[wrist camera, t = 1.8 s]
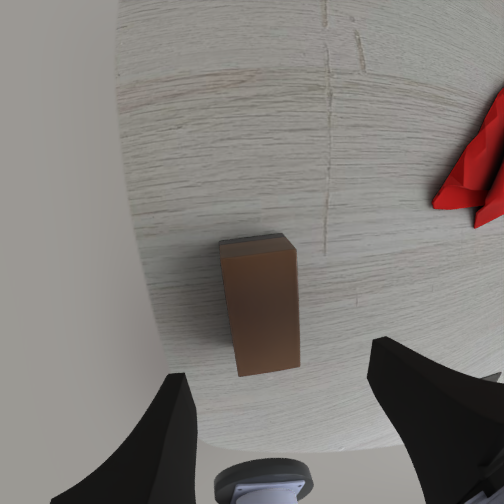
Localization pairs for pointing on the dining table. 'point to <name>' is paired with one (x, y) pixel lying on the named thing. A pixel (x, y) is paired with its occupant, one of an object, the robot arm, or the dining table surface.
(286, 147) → the dining table surface
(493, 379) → the dark grey flat slab
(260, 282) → the eraser
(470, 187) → the cloth
